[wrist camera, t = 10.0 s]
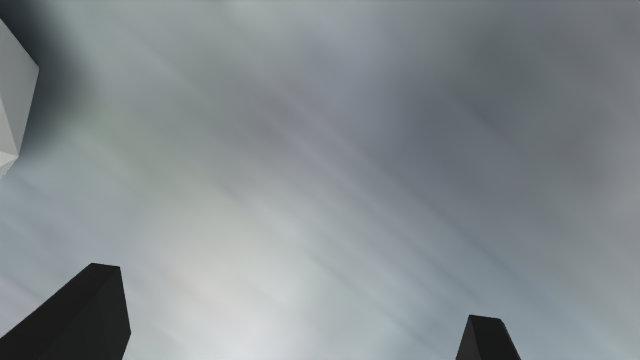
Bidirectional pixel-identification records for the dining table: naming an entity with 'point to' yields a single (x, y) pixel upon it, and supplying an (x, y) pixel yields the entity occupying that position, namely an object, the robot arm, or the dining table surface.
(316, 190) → the dining table surface
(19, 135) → the die
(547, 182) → the dining table surface
